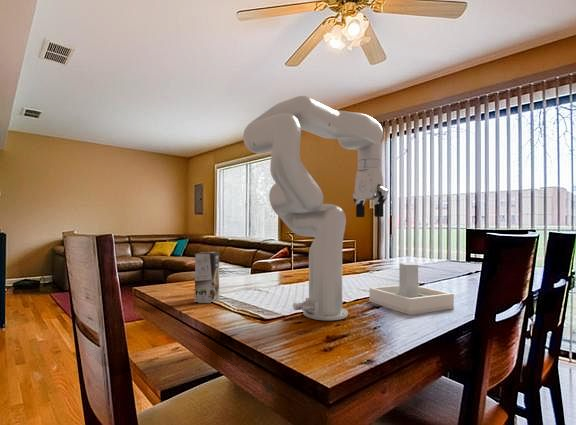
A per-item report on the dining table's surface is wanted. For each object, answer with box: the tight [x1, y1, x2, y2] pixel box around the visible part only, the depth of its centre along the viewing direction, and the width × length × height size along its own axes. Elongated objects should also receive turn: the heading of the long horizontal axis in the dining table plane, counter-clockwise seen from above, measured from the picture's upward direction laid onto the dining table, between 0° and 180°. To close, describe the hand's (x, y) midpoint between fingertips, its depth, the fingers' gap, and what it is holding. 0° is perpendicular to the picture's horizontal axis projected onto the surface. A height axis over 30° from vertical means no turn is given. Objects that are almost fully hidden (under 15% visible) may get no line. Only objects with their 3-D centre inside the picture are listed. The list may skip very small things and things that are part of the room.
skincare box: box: [398, 262, 419, 298], centre depth 108 cm, size 6×4×12 cm
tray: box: [368, 284, 455, 316], centre depth 108 cm, size 18×18×4 cm
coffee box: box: [193, 251, 220, 304], centre depth 114 cm, size 9×6×16 cm
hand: (369, 216), depth 113 cm, fingers open, 9 cm apart
